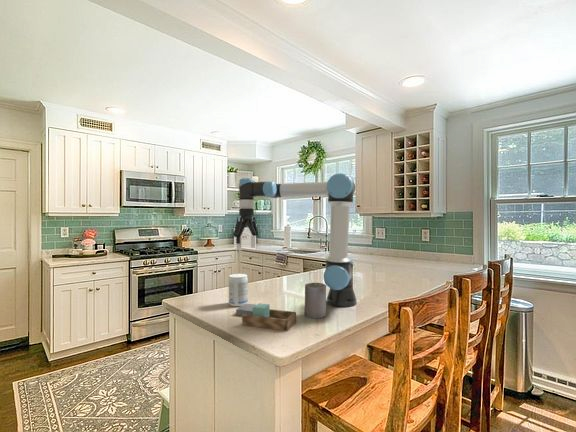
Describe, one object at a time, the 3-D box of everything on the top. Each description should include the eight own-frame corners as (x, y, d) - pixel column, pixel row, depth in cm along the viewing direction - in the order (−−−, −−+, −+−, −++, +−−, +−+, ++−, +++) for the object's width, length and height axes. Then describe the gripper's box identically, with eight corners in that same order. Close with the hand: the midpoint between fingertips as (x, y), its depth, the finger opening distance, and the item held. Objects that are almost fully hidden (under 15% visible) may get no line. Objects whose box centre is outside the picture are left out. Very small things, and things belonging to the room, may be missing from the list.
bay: (296, 321, 133) (296, 311, 133) (287, 330, 122) (287, 320, 122) (253, 316, 139) (253, 307, 139) (242, 324, 129) (242, 315, 129)
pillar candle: (304, 311, 147) (304, 279, 146) (325, 311, 146) (325, 279, 146) (305, 318, 137) (305, 284, 137) (327, 319, 137) (327, 284, 136)
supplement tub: (248, 301, 163) (248, 273, 163) (247, 307, 154) (247, 277, 154) (230, 301, 163) (230, 273, 163) (227, 307, 153) (227, 277, 153)
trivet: (265, 310, 148) (265, 305, 148) (256, 317, 138) (256, 311, 138) (246, 308, 151) (246, 303, 151) (236, 314, 141) (236, 309, 141)
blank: (269, 320, 134) (269, 304, 134) (264, 325, 128) (264, 308, 128) (258, 319, 136) (258, 303, 136) (252, 323, 130) (252, 307, 130)
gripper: (253, 208, 176) (253, 246, 176) (226, 207, 154) (226, 250, 154) (264, 208, 173) (264, 246, 173) (238, 207, 150) (238, 251, 150)
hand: (246, 248), depth 163 cm, fingers open, 13 cm apart
